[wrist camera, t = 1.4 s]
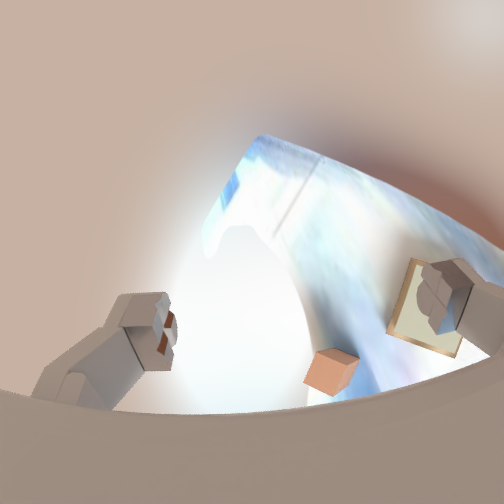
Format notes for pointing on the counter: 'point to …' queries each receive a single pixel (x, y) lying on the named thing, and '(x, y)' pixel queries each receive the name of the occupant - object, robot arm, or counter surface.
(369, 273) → the counter surface
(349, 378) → the tall block
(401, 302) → the tower base
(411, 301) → the tower top
